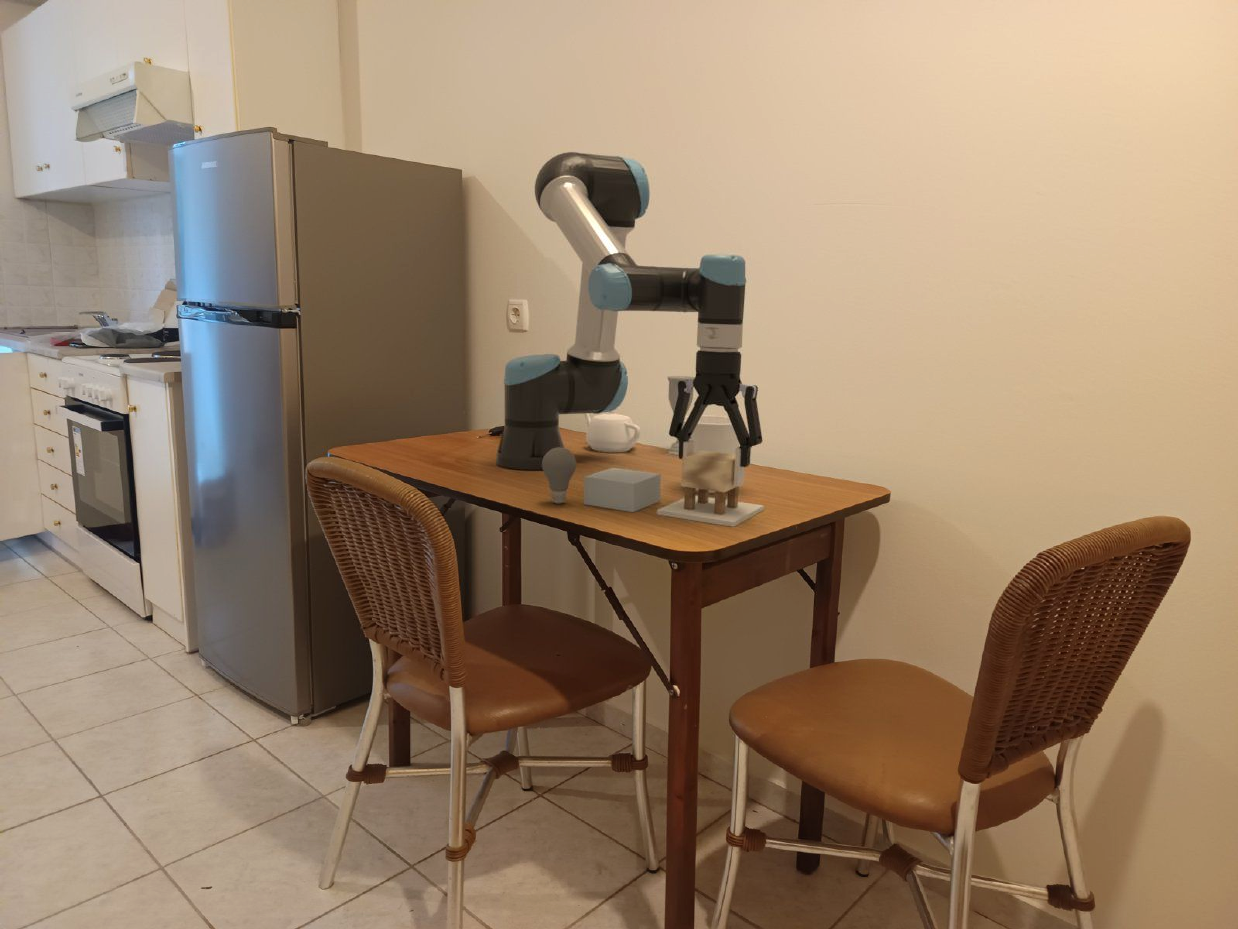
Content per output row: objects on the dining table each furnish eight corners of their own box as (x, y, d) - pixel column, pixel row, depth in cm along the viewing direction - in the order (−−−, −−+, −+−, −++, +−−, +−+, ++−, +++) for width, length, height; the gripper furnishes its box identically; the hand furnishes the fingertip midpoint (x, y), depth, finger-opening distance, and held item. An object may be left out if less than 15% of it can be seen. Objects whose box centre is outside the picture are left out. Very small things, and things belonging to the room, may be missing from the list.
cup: (751, 494, 165) (755, 423, 163) (690, 497, 162) (693, 424, 159) (725, 481, 177) (728, 414, 174) (668, 483, 174) (670, 415, 171)
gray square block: (583, 504, 154) (584, 476, 153) (612, 493, 163) (612, 467, 162) (633, 512, 150) (634, 483, 149) (659, 501, 158) (660, 474, 157)
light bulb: (548, 508, 151) (548, 451, 149) (537, 500, 156) (537, 445, 154) (580, 505, 153) (581, 449, 151) (568, 498, 158) (569, 444, 157)
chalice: (690, 456, 203) (694, 379, 200) (662, 454, 205) (664, 378, 201) (694, 451, 210) (697, 376, 207) (666, 449, 212) (669, 375, 208)
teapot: (563, 445, 214) (564, 404, 212) (601, 440, 222) (602, 401, 220) (619, 458, 200) (620, 414, 198) (657, 452, 208) (658, 410, 206)
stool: (680, 509, 149) (682, 457, 148) (699, 500, 156) (701, 450, 155) (723, 515, 146) (726, 462, 144) (741, 506, 152) (744, 455, 151)
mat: (656, 514, 149) (656, 509, 148) (691, 499, 160) (691, 494, 160) (733, 526, 142) (733, 522, 142) (763, 509, 154) (764, 505, 154)
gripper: (651, 347, 148) (646, 477, 152) (772, 354, 137) (764, 493, 142) (670, 345, 154) (666, 470, 159) (788, 352, 144) (780, 485, 148)
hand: (712, 481), depth 150 cm, fingers open, 9 cm apart
